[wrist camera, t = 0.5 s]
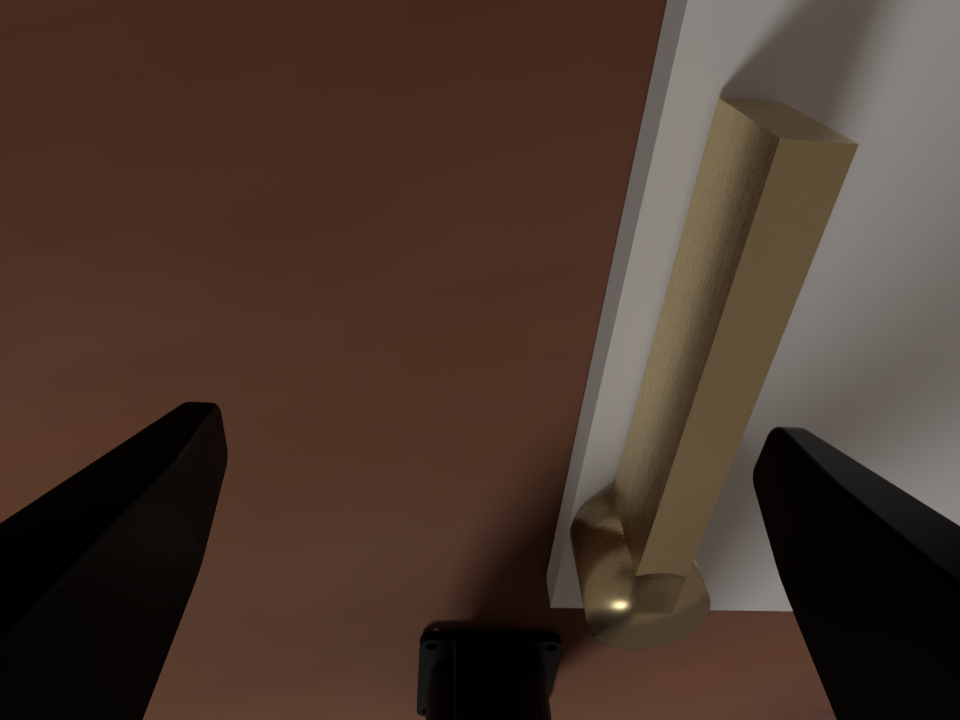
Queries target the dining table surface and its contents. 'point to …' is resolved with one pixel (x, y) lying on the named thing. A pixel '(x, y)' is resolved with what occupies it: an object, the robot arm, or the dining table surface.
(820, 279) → the base
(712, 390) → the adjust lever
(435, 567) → the dining table surface
